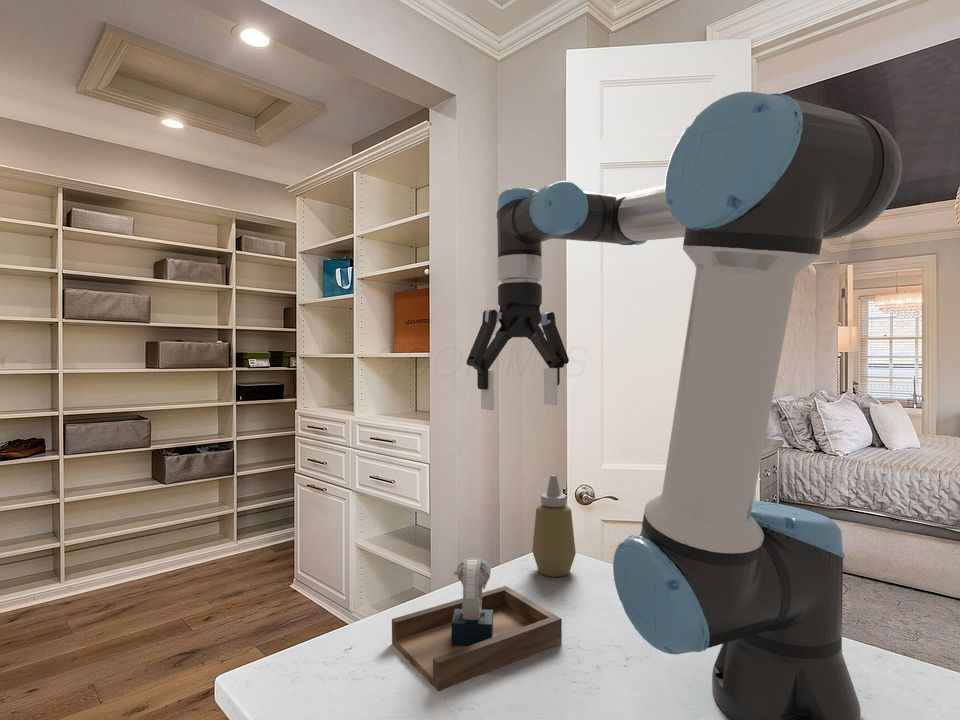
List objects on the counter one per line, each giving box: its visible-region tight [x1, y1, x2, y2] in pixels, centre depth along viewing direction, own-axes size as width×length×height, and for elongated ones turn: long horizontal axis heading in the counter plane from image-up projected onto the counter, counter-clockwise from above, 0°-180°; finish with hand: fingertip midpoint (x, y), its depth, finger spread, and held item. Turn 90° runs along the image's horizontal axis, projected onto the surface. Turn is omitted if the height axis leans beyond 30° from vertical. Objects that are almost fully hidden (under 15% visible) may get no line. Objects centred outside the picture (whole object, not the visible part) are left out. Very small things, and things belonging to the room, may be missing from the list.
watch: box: [451, 557, 493, 646], centre depth 79 cm, size 6×8×11 cm
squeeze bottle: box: [531, 474, 576, 578], centre depth 105 cm, size 8×8×18 cm
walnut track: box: [391, 585, 563, 692], centre depth 80 cm, size 13×20×4 cm
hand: (520, 407), depth 97 cm, fingers open, 13 cm apart
